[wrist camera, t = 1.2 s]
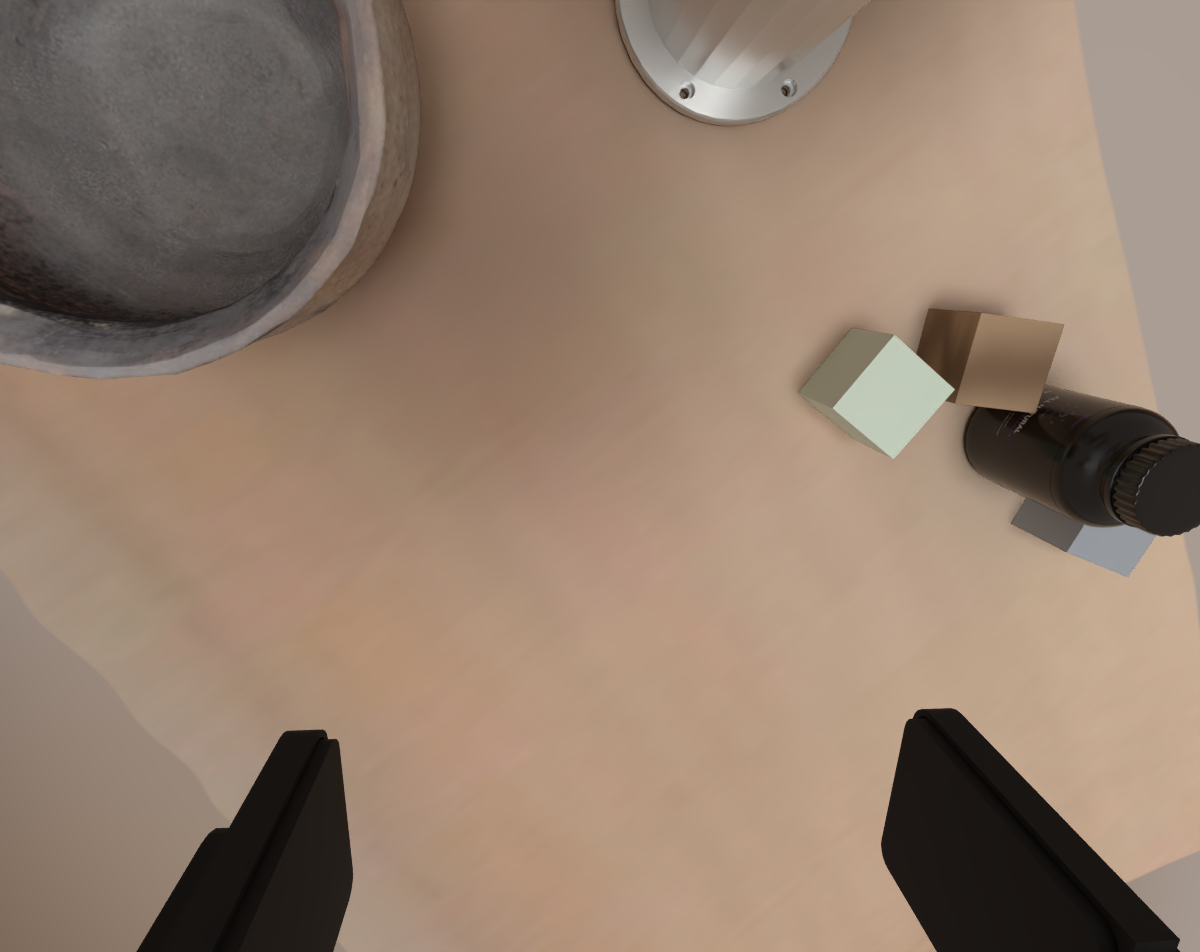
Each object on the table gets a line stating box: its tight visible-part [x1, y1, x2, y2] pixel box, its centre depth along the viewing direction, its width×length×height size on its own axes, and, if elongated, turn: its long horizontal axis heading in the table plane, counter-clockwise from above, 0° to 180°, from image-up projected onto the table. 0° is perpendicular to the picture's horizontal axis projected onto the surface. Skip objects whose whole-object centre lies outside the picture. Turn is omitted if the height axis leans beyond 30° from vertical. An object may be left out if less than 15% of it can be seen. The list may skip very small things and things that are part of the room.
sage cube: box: [798, 328, 955, 459], centre depth 38 cm, size 5×5×5 cm
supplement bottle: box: [966, 385, 1200, 537], centre depth 36 cm, size 7×7×12 cm
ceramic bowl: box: [0, 0, 421, 380], centre depth 26 cm, size 22×22×15 cm
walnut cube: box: [916, 309, 1064, 413], centre depth 38 cm, size 5×5×5 cm
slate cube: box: [1011, 498, 1156, 577], centre depth 42 cm, size 5×5×5 cm
